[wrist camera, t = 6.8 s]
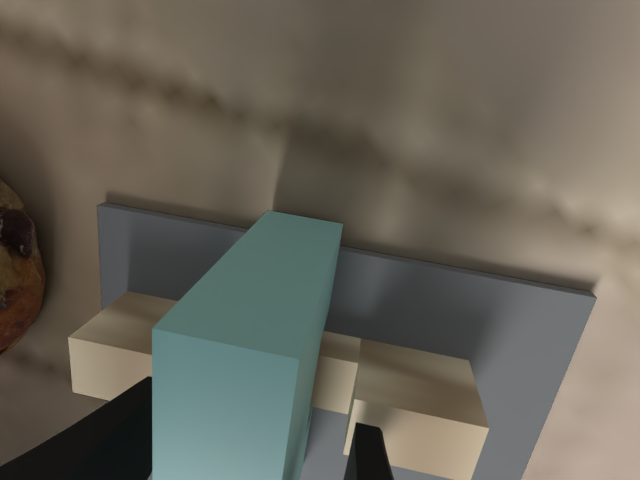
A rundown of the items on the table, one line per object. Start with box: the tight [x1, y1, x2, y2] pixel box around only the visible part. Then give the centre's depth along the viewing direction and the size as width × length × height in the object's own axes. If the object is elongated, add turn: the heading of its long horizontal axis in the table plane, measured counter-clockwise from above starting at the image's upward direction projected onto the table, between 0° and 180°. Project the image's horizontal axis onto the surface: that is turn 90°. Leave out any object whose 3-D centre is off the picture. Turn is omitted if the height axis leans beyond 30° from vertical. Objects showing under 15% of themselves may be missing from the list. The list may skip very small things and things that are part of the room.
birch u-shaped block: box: [68, 291, 489, 480], centre depth 13 cm, size 12×2×3 cm, turn 82°
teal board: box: [152, 210, 343, 480], centre depth 12 cm, size 2×10×7 cm, turn 172°
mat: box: [97, 202, 597, 480], centre depth 17 cm, size 16×20×1 cm
